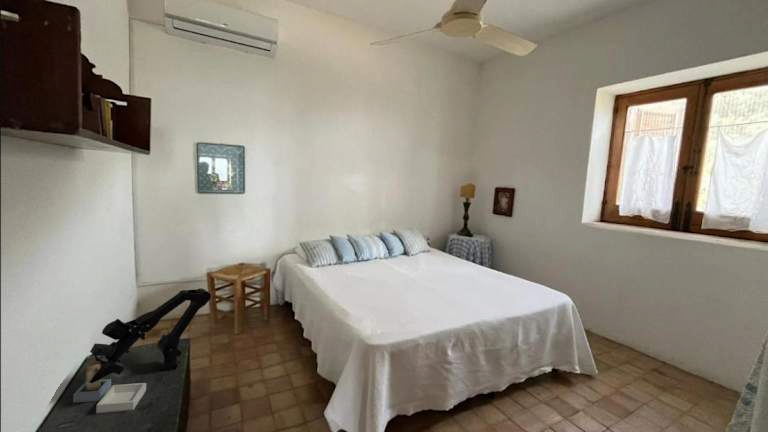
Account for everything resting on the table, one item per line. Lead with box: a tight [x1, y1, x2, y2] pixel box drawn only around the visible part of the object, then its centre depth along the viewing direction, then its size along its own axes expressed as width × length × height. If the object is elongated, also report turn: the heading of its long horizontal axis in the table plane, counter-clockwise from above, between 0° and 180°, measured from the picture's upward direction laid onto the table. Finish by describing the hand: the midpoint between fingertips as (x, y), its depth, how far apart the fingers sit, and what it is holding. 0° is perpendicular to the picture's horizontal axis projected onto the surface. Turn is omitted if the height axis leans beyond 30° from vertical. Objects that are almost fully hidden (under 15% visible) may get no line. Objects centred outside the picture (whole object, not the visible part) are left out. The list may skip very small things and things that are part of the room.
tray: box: [95, 382, 147, 415], centre depth 124 cm, size 12×12×4 cm
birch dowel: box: [85, 360, 102, 391], centre depth 125 cm, size 4×4×13 cm
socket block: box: [72, 378, 112, 404], centre depth 126 cm, size 8×8×4 cm
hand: (88, 380), depth 124 cm, fingers closed on birch dowel, 4 cm apart
